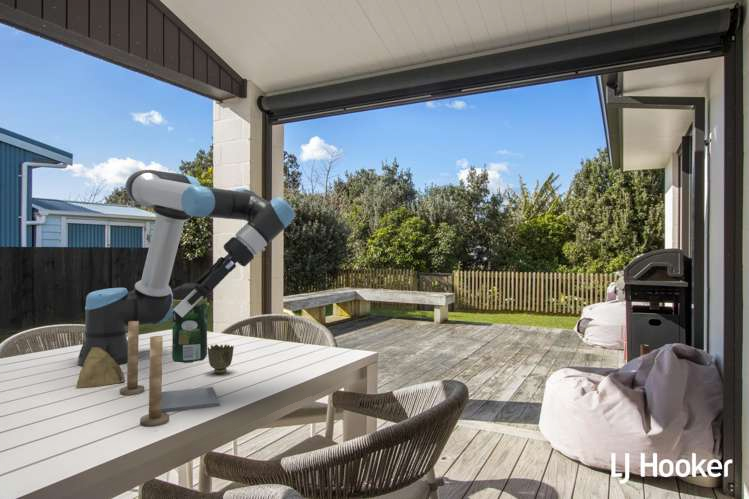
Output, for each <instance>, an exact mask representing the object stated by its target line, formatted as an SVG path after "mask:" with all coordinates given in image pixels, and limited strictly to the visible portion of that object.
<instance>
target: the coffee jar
mask: <svg viewBox="0 0 749 499" xmlns="http://www.w3.org/2000/svg"><path fill="white" fill-rule="evenodd" d="M196 285H198V286H200V284H199V283H194V282H187V283H185V282H184V283H182V285H179V286H176V287H175V288H173V289H172V293H173V309H174V308H175V307H176V306H177V305H178V304H179V303H180V302H181V301H182V300H184V299H185V298H186V297H187V296H188V295H189V294H190V293H191V292H192V291H193V290H194V289H195V288H194V286H196ZM195 290H196V289H195ZM196 291H197V290H196ZM171 318H172V332H171V333H172V336H171V337H172V339H171V340H172V343H171V344H172V347H171V348H172V349H171V350H172V351H171V352H172V354H171V356H172V358H171V359H172V361H173V362H175V363H183V364H193V363H195V362H200V361H204V360H205V359H206V358H207V357H208V295H206V296H204V297H203V298H202V299H201V300H200V301H199V302H198V303H197V304H196V305H195V306H194V307H193V308H192V309H191V310H190V311H189V312H188V313H186V314H185V315H184V316H183V317H181V316H180V315H179V314H178V313H176V312H175V311H174V310H173V314H172V316H171Z"/></svg>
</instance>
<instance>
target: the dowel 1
mask: <svg viewBox="0 0 749 499" xmlns="http://www.w3.org/2000/svg"><path fill="white" fill-rule="evenodd" d="M139 328H140V325H139V321H130V322H128V327H127V335H128V336H127V340H128V362H127V372H126V373H127V374H126V375H127V378H126V380H127V381H126V386H123V387H121V388H120V389H119V395H121V396H135V395H140V394H143V393H144V392H145V385H139V384H138V382H139V381H138V380H139V379H138V378H139V377H138V376H139V339H140V338H139V336H140V334H139V332H140V329H139Z"/></svg>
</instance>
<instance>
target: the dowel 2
mask: <svg viewBox="0 0 749 499" xmlns="http://www.w3.org/2000/svg"><path fill="white" fill-rule="evenodd" d="M163 339H164V338H163V336H162V335H154V336H150V338H149V375H148V376H149V380H148V381H149V384H148V413H147V414H144V415H143V416H141V417H140V420H139V424H140V426H142V427H148V428H149V427H151V428H152V427H157V426H162V425H165V424H167V423H169V421H170V414H169V413H168V412H163V413H161V395H162V392H163V391H162V390H163V389H162V388H163V387H162V385H163V383H162V382H163V378H162V377H163Z"/></svg>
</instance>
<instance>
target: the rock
mask: <svg viewBox="0 0 749 499" xmlns="http://www.w3.org/2000/svg"><path fill="white" fill-rule="evenodd" d="M125 381H126V376H125V374H124V372H123V370H122V368H121V366H120V364H117V363H116V362H115V361H114V360H113V358H112V357H111V356H110V355H109V354H108V353H107V352H105V351H104V350H102V349H101V348H98V347H95V348H94V347H92V348H91V350H90V352H89V354H88V356H87V358H86V360H85V362H84V365H83V366H82V367H81V370H80V372H79V374H78V379H77V382H76V386H75V389H81V388H93V387H103V386H107V385H108V386H109V385H113V384H119V383H120V384H121V383H123V382H124V383H125Z"/></svg>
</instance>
